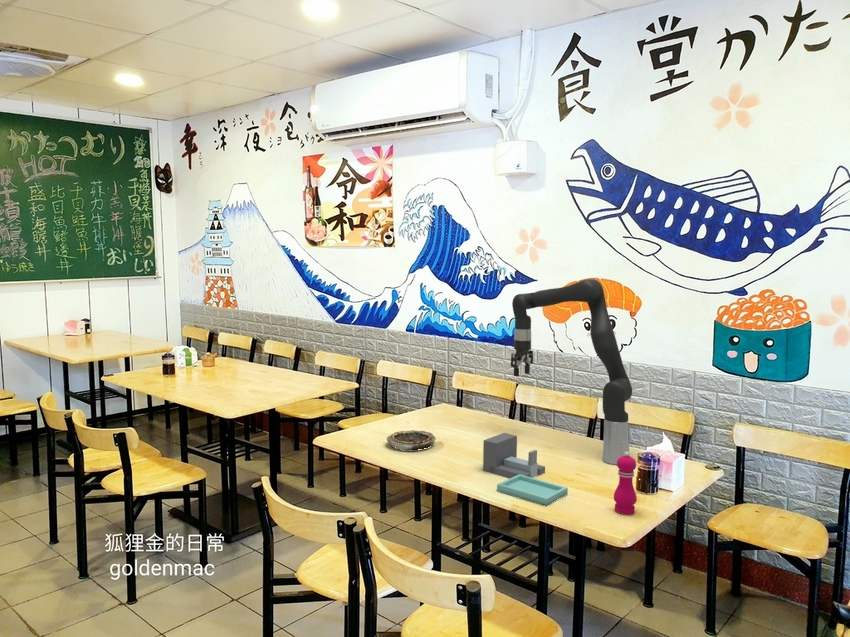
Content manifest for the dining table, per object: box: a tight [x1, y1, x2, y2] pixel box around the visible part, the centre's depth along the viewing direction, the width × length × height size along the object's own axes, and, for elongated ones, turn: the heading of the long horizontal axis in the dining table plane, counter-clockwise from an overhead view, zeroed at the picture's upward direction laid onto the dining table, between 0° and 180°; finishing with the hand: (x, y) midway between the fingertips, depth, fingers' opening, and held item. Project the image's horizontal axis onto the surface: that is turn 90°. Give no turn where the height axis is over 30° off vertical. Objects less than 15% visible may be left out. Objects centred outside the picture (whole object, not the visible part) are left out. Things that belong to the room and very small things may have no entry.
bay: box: [482, 432, 546, 479], centre depth 251 cm, size 19×14×12 cm
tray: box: [496, 474, 569, 507], centre depth 230 cm, size 20×14×2 cm
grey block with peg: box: [504, 449, 539, 478], centre depth 249 cm, size 12×5×10 cm, turn 49°
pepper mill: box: [613, 451, 638, 515], centre depth 214 cm, size 7×7×20 cm
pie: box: [386, 429, 437, 450], centre depth 284 cm, size 28×27×5 cm
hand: (521, 375), depth 291 cm, fingers open, 8 cm apart
